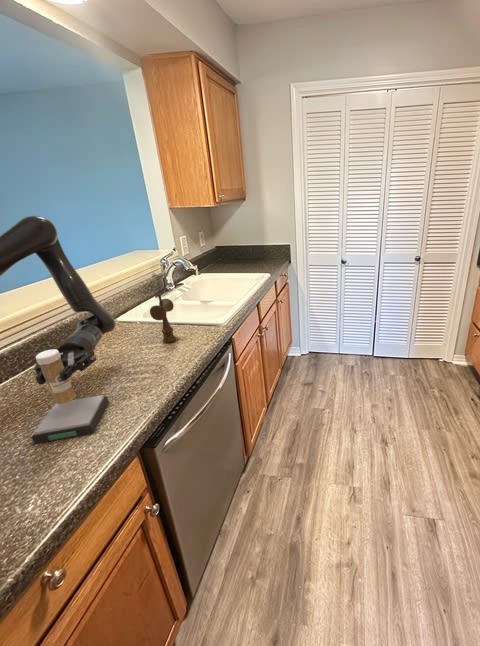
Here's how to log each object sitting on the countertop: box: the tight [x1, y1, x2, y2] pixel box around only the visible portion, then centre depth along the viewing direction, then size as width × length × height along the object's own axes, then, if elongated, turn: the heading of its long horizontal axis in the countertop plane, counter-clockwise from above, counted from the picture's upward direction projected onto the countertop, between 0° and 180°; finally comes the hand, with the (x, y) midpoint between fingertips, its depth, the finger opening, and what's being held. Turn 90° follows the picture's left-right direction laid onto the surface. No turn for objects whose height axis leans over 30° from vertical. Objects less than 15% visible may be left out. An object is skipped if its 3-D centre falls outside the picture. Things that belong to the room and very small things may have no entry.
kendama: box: [149, 292, 177, 343], centre depth 125 cm, size 6×10×20 cm, turn 1°
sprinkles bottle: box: [35, 348, 77, 404], centre depth 80 cm, size 5×5×14 cm
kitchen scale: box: [31, 394, 110, 445], centre depth 85 cm, size 13×13×3 cm
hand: (51, 379), depth 77 cm, fingers closed on sprinkles bottle, 4 cm apart
